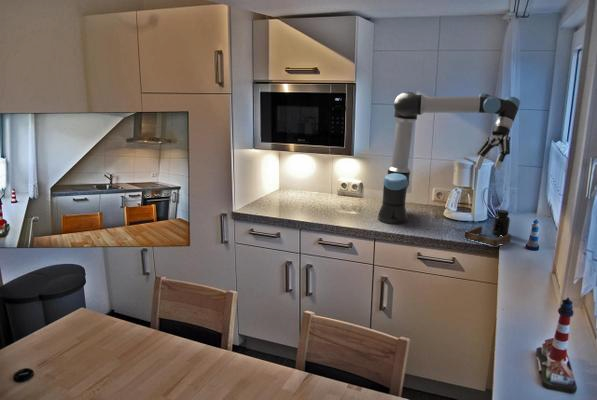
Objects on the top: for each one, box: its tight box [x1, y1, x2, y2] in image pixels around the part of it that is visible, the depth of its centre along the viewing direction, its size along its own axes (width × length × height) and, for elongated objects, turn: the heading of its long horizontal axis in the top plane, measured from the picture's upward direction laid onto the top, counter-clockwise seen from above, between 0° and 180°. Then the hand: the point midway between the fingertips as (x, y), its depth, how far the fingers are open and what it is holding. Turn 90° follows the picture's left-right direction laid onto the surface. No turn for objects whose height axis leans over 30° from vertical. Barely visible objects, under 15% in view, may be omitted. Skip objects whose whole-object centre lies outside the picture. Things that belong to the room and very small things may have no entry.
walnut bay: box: [464, 226, 512, 246], centre depth 215 cm, size 15×14×4 cm
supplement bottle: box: [492, 209, 511, 237], centre depth 222 cm, size 7×7×12 cm
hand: (486, 168), depth 225 cm, fingers open, 13 cm apart
